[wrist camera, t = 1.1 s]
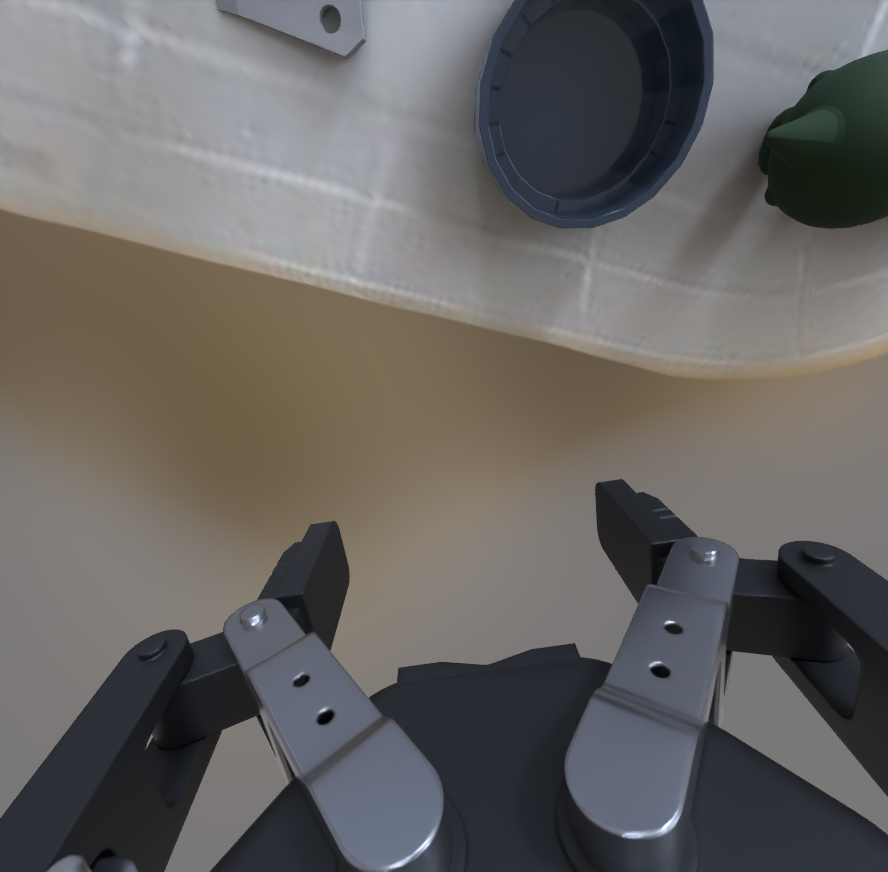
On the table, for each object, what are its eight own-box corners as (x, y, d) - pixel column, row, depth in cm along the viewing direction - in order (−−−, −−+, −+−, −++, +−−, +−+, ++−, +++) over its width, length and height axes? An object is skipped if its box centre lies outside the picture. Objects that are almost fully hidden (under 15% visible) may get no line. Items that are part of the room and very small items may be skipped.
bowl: (448, 23, 30) (450, 4, 26) (668, -72, 28) (714, -112, 23) (500, 241, 38) (509, 256, 33) (678, 179, 36) (713, 187, 31)
